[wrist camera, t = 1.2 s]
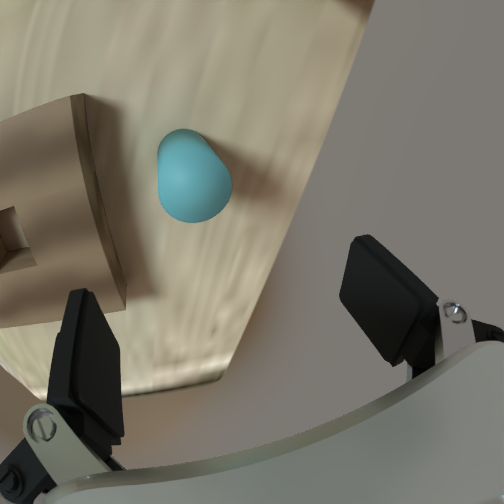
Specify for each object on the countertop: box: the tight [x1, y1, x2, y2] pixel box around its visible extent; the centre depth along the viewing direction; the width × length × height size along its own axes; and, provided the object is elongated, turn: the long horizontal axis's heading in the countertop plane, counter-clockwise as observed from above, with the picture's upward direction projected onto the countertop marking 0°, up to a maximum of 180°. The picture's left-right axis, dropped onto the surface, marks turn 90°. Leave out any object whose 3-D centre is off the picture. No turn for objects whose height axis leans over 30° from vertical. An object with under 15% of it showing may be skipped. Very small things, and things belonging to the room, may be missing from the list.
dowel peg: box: [158, 129, 232, 223], centre depth 20 cm, size 4×4×9 cm
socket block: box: [0, 93, 127, 328], centre depth 19 cm, size 20×20×4 cm
